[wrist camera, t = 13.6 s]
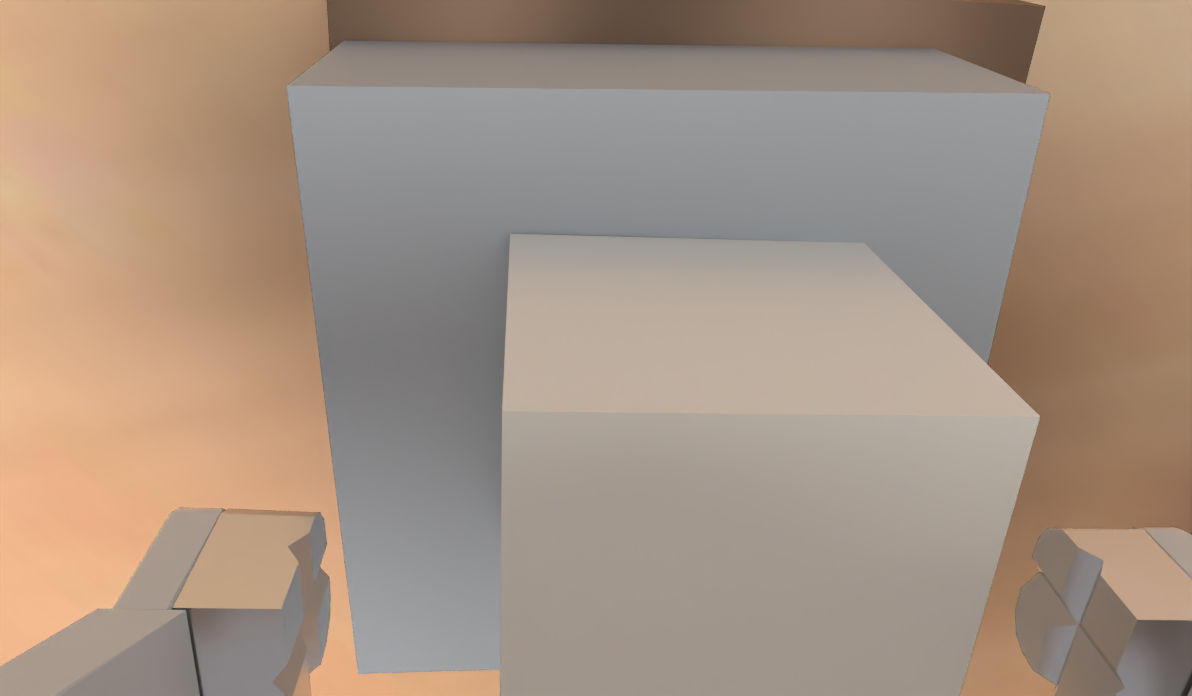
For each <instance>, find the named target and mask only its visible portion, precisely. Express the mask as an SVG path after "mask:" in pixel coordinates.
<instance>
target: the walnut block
mask: <svg viewBox="0 0 1192 696" xmlns="http://www.w3.org/2000/svg"><path fill="white" fill-rule="evenodd" d="M1044 10H1045V6H1042V5H1038V4H1033V3H1029V2H1024V1H1020V0H327V11H328V28H329V44H330V51H331V50H333V49H334V48H335V47H336V46H338V45H339V44H340V43H342V42H343V41H416V42H490V43H564V44H638V45H712V46H786V47H858V48H929V49H937V50H939V51H942V52H945V53H947V54H950V55H952V56H955V57H957V58H960V59H962V60H965V61H968V62H970V63H973V64H975V65H978V66H980V67H983V68H986V69H988V70H991V71H993V72H996V73H998V74H1001V75H1003V76H1006V77H1009V78H1011V79H1014V80H1016V81H1019V82H1021V83H1024V84H1025V83H1026V79H1027V75H1028V71H1029V67H1030V64H1031V60H1032V56H1033V52H1034V48H1035V44H1036V40H1037V37H1038V33H1039V29H1040V25H1041V21H1042V17H1043V13H1044Z"/></svg>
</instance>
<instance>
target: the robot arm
mask: <svg viewBox="0 0 1192 696" xmlns="http://www.w3.org/2000/svg"><path fill="white" fill-rule="evenodd" d="M326 545H327V541H326V532H325V523H324V518H323V517H322V515H321V513H320V512H300V511H276V510H251V509H227V510H225V509H222V508H182V507H180V508H178V509H177V510H175V511H173V512H171V513H170V514H169V516H168V517H167V519H166V521H165V522H164V524H163V526H162V527H161V529H160V531H159V532H158V534H157V536H156V537H155V539H154V541H153V542H152V544H151V546H150V547H149V549H148V551H147V552H146V554H145V556H144V557H143V559H142V561H141V562H140V564H139V566H138V567H137V569H136V571H135V572H134V574H133V576H132V577H131V579H130V581H129V582H128V584H127V586H126V587H125V589H124V591H123V592H122V594H121V596H120V597H119V599H118V601H117V602H116V604H115V606H114V607H113V609H97V610H95V611H93V612H92V613H90V614H88V615H86V616H85V617H83V618H81V619H80V620H78V621H76V622H75V623H73V624H71V625H70V626H68V627H66V628H64V629H63V630H61V631H59V632H58V633H56V634H54V635H53V636H51V637H49V638H48V639H46V640H44V641H43V642H41V643H39V644H37V645H36V646H34V647H32V648H31V649H29V650H27V651H26V652H24V653H22V654H21V655H19V656H17V657H15V658H14V659H12V660H10V661H9V662H7V663H5V664H4V665H2V666H0V696H311V685H310V673H311V672H312V671H313V670H314V669H315V668H317V667H318V666H319V665H320V664H321V661H322V658H323V654H324V650H325V646H326V642H327V635H328V627H329V620H330V596H331V595H330V579H329V576H328V575H327V574H326V573H325V572H324V571H323V570H322V569H321V568H320V564H321V561H322V558H323V555H324V551H325V548H326ZM1032 557H1033V560H1034V562H1035V564H1036V566H1037V568H1038V570H1039V573H1038V574H1037V575H1035V576H1034V577H1033V578H1032V579H1031V580H1030V581H1028V582H1027V583H1026V584H1025V585H1024V586H1022V588H1021V591H1020V594H1019V598H1018V601H1017V605H1016V608H1015V621H1016V635H1017V638H1018V641H1019V644H1020V647H1021V650H1022V653H1023V654H1024V656H1025V658H1026V659H1027V661H1028V663H1029V664H1030V666H1031V668H1032V669H1033V670H1034V671H1035V672H1037V673H1038V674H1040V675H1041V676H1043V677H1044V678H1046V679H1047V680H1049V681H1050V682H1052V683H1053V684H1055V685H1056V687H1055V692H1054V696H1192V535H1191V534H1190V533H1188V532H1185V531H1183V530H1181V529H1178V528H1176V527H1146V528H1132V529H1092V528H1047V529H1046V531H1045V532H1044V533H1043V534H1042V535H1041V536H1040V537H1039V539H1038V541H1037V544H1036V547H1035V549H1034V552H1033V555H1032Z"/></svg>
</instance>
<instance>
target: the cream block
mask: <svg viewBox="0 0 1192 696" xmlns="http://www.w3.org/2000/svg"><path fill="white" fill-rule="evenodd" d="M1039 420H1040V416H1039V415H1038V414H1037V413H1036V412H1035V411H1034V410H1033V409H1032V408H1031V407H1030V406H1029V405H1028V404H1027V403H1026V402H1025V401H1024V400H1023V399H1022V398H1021V397H1020V396H1019V395H1018V394H1017V393H1016V392H1015V391H1014V390H1013V389H1012V388H1011V387H1010V386H1009V385H1008V384H1007V383H1006V382H1005V381H1004V380H1003V379H1002V378H1001V377H1000V376H999V375H998V374H997V373H996V372H994V371H993V370H992V369H991V368H990V367H989V366H988V365H987V364H986V363H985V362H984V361H983V360H982V359H981V358H980V357H979V356H978V355H977V354H976V353H975V352H974V351H973V350H972V349H971V348H970V347H969V346H968V345H967V344H966V343H965V342H964V341H963V340H962V339H961V338H960V337H959V336H958V335H957V334H956V333H955V332H954V331H953V330H952V329H951V328H950V327H949V326H948V325H947V324H946V323H945V322H944V321H943V320H942V319H941V318H940V317H939V316H938V315H937V314H936V313H935V312H934V311H933V310H932V309H931V308H930V307H929V306H928V305H927V304H926V303H924V302H923V301H922V300H921V299H920V298H919V297H918V296H917V295H916V294H915V293H914V292H913V291H912V290H911V289H910V288H909V287H908V286H907V285H906V284H905V283H904V282H903V281H902V280H901V279H900V278H899V277H898V276H897V275H896V274H895V273H894V272H893V271H892V270H891V269H890V268H889V267H888V266H887V265H886V264H885V263H884V262H883V261H882V260H881V259H880V258H879V257H878V256H877V255H876V254H875V253H874V252H873V251H872V250H871V249H870V248H869V247H868V246H867V245H866V244H865V243H848V242H811V241H773V240H734V239H696V238H657V237H619V236H581V235H542V234H510V247H509V269H508V291H507V313H506V335H505V358H504V380H503V402H502V482H501V604H500V696H960V693H961V689H962V686H963V682H964V679H965V675H966V672H967V668H968V665H969V661H970V658H971V655H972V651H973V648H974V644H975V641H976V637H977V634H978V630H979V627H980V623H981V620H982V617H983V613H984V610H985V606H986V603H987V599H988V596H989V592H990V589H991V585H992V582H993V578H994V575H995V572H996V568H997V565H998V561H999V558H1000V554H1001V551H1002V547H1003V544H1004V540H1005V537H1006V534H1007V530H1008V527H1009V523H1010V520H1011V516H1012V513H1013V509H1014V506H1015V502H1016V499H1017V496H1018V492H1019V489H1020V485H1021V482H1022V478H1023V475H1024V471H1025V468H1026V464H1027V461H1028V458H1029V454H1030V451H1031V447H1032V444H1033V440H1034V437H1035V433H1036V430H1037V426H1038V423H1039Z"/></svg>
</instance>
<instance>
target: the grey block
mask: <svg viewBox="0 0 1192 696" xmlns="http://www.w3.org/2000/svg"><path fill="white" fill-rule="evenodd" d="M287 95H288V103H289V111H290V119H291V127H292V135H293V144H294V152H295V160H296V168H297V176H298V184H299V193H300V201H301V209H302V217H303V225H304V234H305V242H306V250H307V258H308V266H309V274H310V283H311V291H312V299H313V307H314V315H315V324H316V332H317V340H318V348H319V356H320V364H321V373H322V381H323V389H324V397H325V405H326V414H327V422H328V430H329V438H330V446H331V454H332V463H333V471H334V479H335V487H336V495H337V503H338V512H339V520H340V528H341V536H342V544H343V553H344V561H345V569H346V577H347V585H348V593H349V602H350V610H351V618H352V626H353V634H354V643H355V651H356V659H357V667H358V674H367V673H401V672H434V671H468V670H500V604H501V482H502V402H503V380H504V358H505V335H506V313H507V291H508V269H509V247H510V234H542V235H581V236H619V237H657V238H696V239H734V240H773V241H811V242H848V243H865V244H866V245H867V246H868V247H869V248H870V249H871V250H872V251H873V252H874V253H875V254H876V255H877V256H878V257H879V258H880V259H881V260H882V261H883V262H884V263H885V264H886V265H887V266H888V267H889V268H890V269H891V270H892V271H893V272H894V273H895V274H896V275H897V276H898V277H899V278H900V279H901V280H902V281H903V282H904V283H905V284H906V285H907V286H908V287H909V288H910V289H911V290H912V291H913V292H914V293H915V294H916V295H917V296H918V297H919V298H920V299H921V300H922V301H923V302H924V303H926V304H927V305H928V306H929V307H930V308H931V309H932V310H933V311H934V312H935V313H936V314H937V315H938V316H939V317H940V318H941V319H942V320H943V321H944V322H945V323H946V324H947V325H948V326H949V327H950V328H951V329H952V330H953V331H954V332H955V333H956V334H957V335H958V336H959V337H960V338H961V339H962V340H963V341H964V342H965V343H966V344H967V345H968V346H969V347H970V348H971V349H972V350H973V351H974V352H975V353H976V354H977V355H978V356H979V357H980V358H981V359H982V360H983V361H984V362H985V363H986V364H988V360H989V356H990V351H991V347H992V343H993V339H994V334H995V330H996V326H997V321H998V317H999V313H1000V308H1001V304H1002V300H1003V295H1004V291H1005V287H1006V283H1007V278H1008V274H1009V270H1010V265H1011V261H1012V257H1013V252H1014V248H1015V244H1016V239H1017V235H1018V231H1019V226H1020V222H1021V218H1022V214H1023V209H1024V205H1025V201H1026V196H1027V192H1028V188H1029V183H1030V179H1031V175H1032V170H1033V166H1034V162H1035V158H1036V153H1037V149H1038V145H1039V140H1040V136H1041V132H1042V127H1043V123H1044V119H1045V114H1046V110H1047V106H1048V102H1049V97H1050V93H1047V92H1044V91H1042V90H1039V89H1037V88H1034V87H1032V86H1029V85H1026V84H1024V83H1021V82H1019V81H1016V80H1014V79H1011V78H1009V77H1006V76H1003V75H1001V74H998V73H996V72H993V71H991V70H988V69H986V68H983V67H980V66H978V65H975V64H973V63H970V62H968V61H965V60H962V59H960V58H957V57H955V56H952V55H950V54H947V53H945V52H942V51H939V50H937V49H929V48H858V47H786V46H712V45H638V44H564V43H490V42H416V41H343V42H342V43H340V44H339V45H338V46H336V47H335V48H334V49H333V50H331V51H330V52H329V53H328V54H326V55H325V56H324V57H322V58H321V59H320V60H319V61H317V62H316V63H315V64H314V65H312V66H311V67H310V68H309V69H307V70H306V71H305V72H303V73H302V74H301V75H300V76H298V77H297V78H296V79H295V80H293V81H292V82H291V83H289V84H288V85H287Z"/></svg>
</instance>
